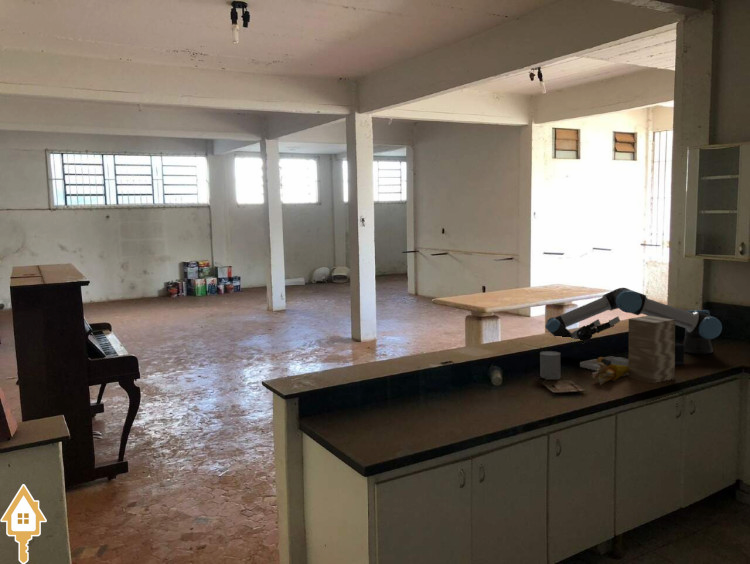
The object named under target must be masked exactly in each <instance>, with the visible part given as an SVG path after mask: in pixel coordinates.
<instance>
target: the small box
mask: <svg viewBox="0 0 750 564" xmlns="http://www.w3.org/2000/svg"><path fill="white" fill-rule="evenodd" d="M682 344H683V343H679V342H677V341H675V366H684V364H685V363H684V361H685V359H684V358H685V352H684V345H682Z"/></svg>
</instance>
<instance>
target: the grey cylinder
mask: <svg viewBox="0 0 750 564" xmlns="http://www.w3.org/2000/svg"><path fill="white" fill-rule="evenodd" d="M539 365H540V366H539V368H540V369H539V372H540V373H539V374H540V376H541V377H542V378H546V379H560V378H561V374H562V371H561V369H562V368H561V352H560V351H559V352H558V351H554V350H553V351H552V350H544V351H540V352H539ZM560 380H561V379H560Z"/></svg>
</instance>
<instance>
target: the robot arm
mask: <svg viewBox="0 0 750 564" xmlns="http://www.w3.org/2000/svg"><path fill="white" fill-rule="evenodd" d="M617 309H619V310H620V311H621V312H624V313H628V314H632V315H635V316H639V315H645V316H654V317H661V318H668V319H675V326H678V327H681V328H684V331H685V332H684V339H683V342H682V343H681V344H682V345H684V353H686V352H687V354H692V353H693V355H708V353H709V354H713V350H714V348H713V345H712V343H711V340H713V339H716V338H718V337H719V336H720V334H721V333H722V330H723V325H722V322H721V321H720V319H718V318H717V317H715V316H713V315H710V314H711V313H710V310H709V309H692V310H691V309H690V310H683V309H681V308H678V307H674V306H671V305H669V304H665V303H662V302H660V301H656V300H654V299H650V298H648V297H647V295H646V294H644V293H640V292H639V291H638V292H637V291H635V290H632V289H629V288H628V287H619V288H615V289H614V290H611V291H610V292H607V293H605V294H603V295H602V297H600V298H597V299H595V300H594V301H590V302H588V303H586V304H583V305H582V306H579V307H577V308H574V309H572V310H570V311H567V312H564V313H562V314H560V315H558V316H555V317H550V318H548V319H547V321H546V324H545V326H544V327H545V329H546V330H547V331H548V332H549V333H550V334H551V335H552V336H554V337H555V336H562V337H571V338H574V339H580V340H583V341H584V343H586V342H588V341H590V340H591V339H592V338H593V335H595V334H599V333H601V332H603V331H605V330H607V329H610V328H612V327H614V326H615V325H616V324H618V323H620V322H621V319H620V317H619V316H616V317H613V318H612V319H609V320H608V322H605V323H602V324H601V321H600V319H599V318H598V319H596V320H594V321H592V322H590V323H589V324H587V325H583V326H582V327H580V328H578V329H576V330H575V331H573V332H571V331H570V330H568V329H567V328H568V327H569V326H572V325H575V324H577V323H580V322H582V321H585V320H587V319H589V318H592V317H595V316H596V315H599V314H601V313H604V312H606V311H614V310H617Z"/></svg>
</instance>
